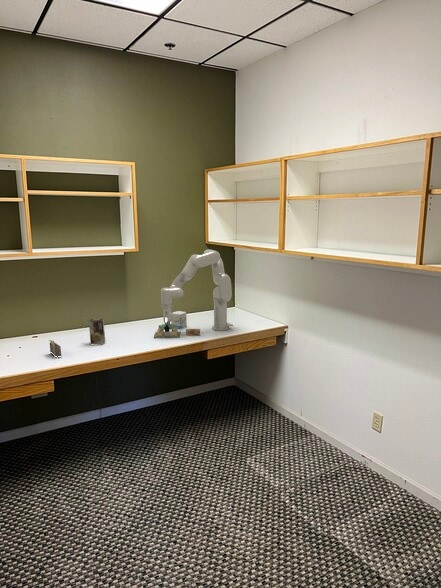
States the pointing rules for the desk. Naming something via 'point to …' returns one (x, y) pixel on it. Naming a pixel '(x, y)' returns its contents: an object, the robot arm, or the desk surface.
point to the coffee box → (97, 331)
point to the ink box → (179, 319)
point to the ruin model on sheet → (55, 348)
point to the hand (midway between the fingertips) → (167, 329)
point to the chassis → (167, 334)
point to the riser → (192, 332)
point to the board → (169, 326)
